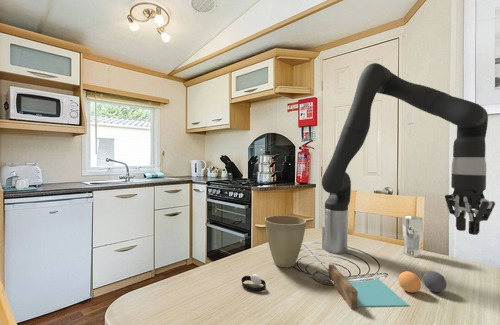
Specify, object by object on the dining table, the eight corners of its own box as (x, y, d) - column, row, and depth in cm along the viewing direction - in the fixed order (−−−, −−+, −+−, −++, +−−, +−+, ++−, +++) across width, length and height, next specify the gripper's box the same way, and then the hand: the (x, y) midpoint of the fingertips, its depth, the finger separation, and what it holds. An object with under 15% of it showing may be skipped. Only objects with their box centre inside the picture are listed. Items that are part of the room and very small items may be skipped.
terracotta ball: (395, 290, 72) (395, 271, 72) (402, 284, 75) (402, 266, 75) (417, 298, 68) (417, 278, 67) (423, 292, 71) (423, 273, 71)
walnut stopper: (357, 309, 62) (357, 291, 62) (351, 309, 62) (351, 291, 62) (333, 278, 78) (333, 264, 78) (328, 278, 78) (328, 264, 78)
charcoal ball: (420, 290, 72) (420, 271, 72) (426, 284, 76) (426, 266, 76) (443, 298, 68) (443, 278, 68) (448, 291, 71) (449, 272, 71)
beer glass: (426, 258, 96) (426, 220, 95) (406, 257, 97) (406, 218, 97) (417, 252, 102) (418, 216, 102) (399, 250, 104) (399, 215, 104)
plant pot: (314, 267, 86) (315, 222, 86) (278, 275, 80) (279, 226, 80) (289, 252, 100) (290, 213, 100) (256, 259, 93) (257, 216, 93)
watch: (268, 288, 73) (268, 276, 72) (261, 295, 68) (261, 282, 68) (246, 281, 76) (246, 269, 76) (237, 288, 72) (238, 275, 72)
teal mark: (356, 306, 63) (356, 305, 63) (335, 280, 77) (335, 279, 77) (409, 305, 64) (409, 305, 64) (378, 279, 78) (378, 279, 78)
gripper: (506, 174, 65) (505, 240, 65) (459, 172, 79) (457, 225, 79) (479, 174, 65) (478, 240, 65) (436, 171, 79) (435, 225, 79)
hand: (466, 231), depth 72 cm, fingers open, 3 cm apart
